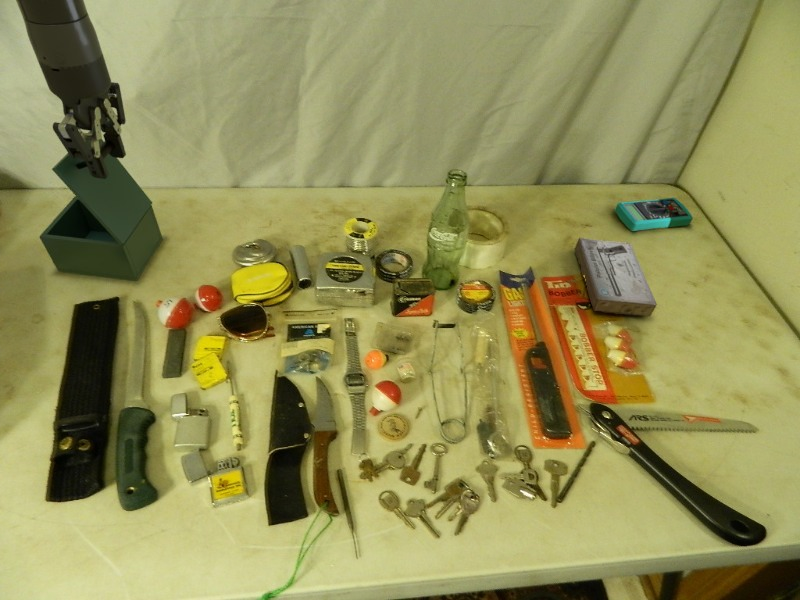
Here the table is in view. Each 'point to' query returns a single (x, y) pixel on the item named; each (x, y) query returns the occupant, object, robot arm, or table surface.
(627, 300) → the box
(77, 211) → the case
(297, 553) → the table surface
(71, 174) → the lid
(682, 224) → the digital multimeter
